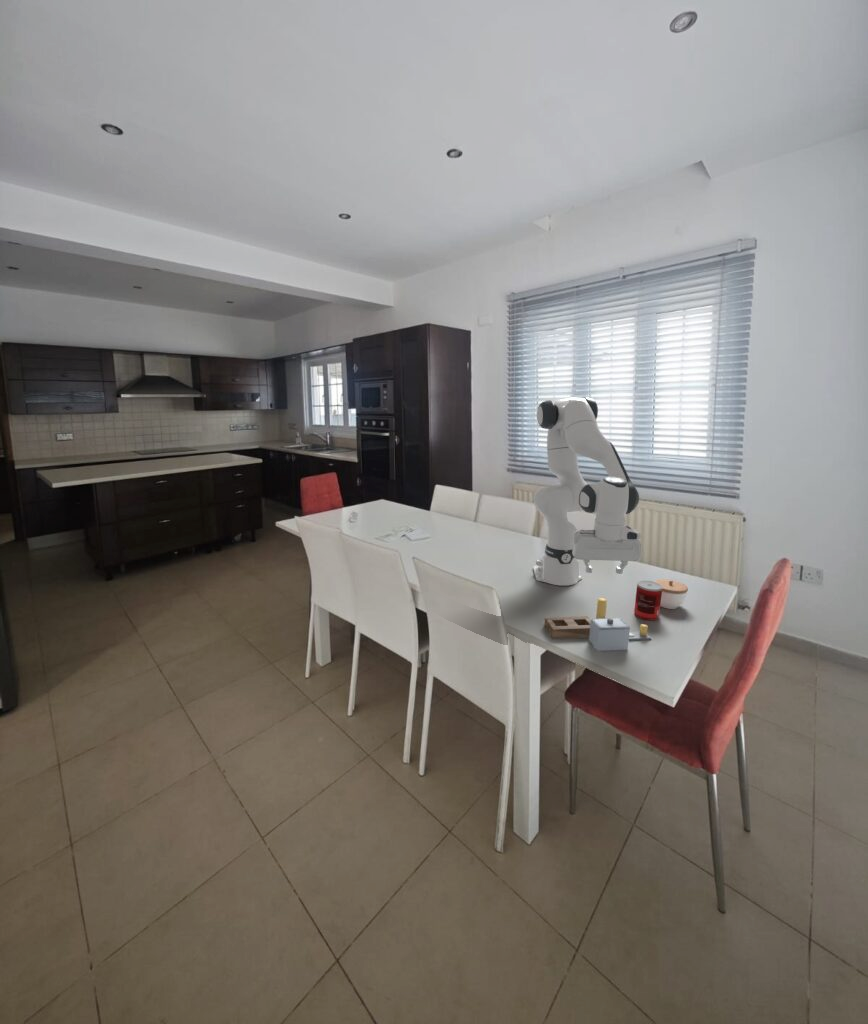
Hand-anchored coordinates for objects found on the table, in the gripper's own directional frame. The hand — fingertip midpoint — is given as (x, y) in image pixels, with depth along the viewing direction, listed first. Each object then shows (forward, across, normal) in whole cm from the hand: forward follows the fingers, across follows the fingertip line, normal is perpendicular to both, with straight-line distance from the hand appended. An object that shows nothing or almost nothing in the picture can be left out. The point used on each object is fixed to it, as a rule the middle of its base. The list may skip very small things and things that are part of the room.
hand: (603, 572), depth 144 cm
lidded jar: (+18, +29, +16) cm, 38 cm away
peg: (+18, +1, +1) cm, 18 cm away
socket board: (+18, -10, -6) cm, 21 cm away
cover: (+17, -1, -14) cm, 22 cm away
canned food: (+18, +18, +7) cm, 27 cm away
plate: (+17, +9, -8) cm, 21 cm away
